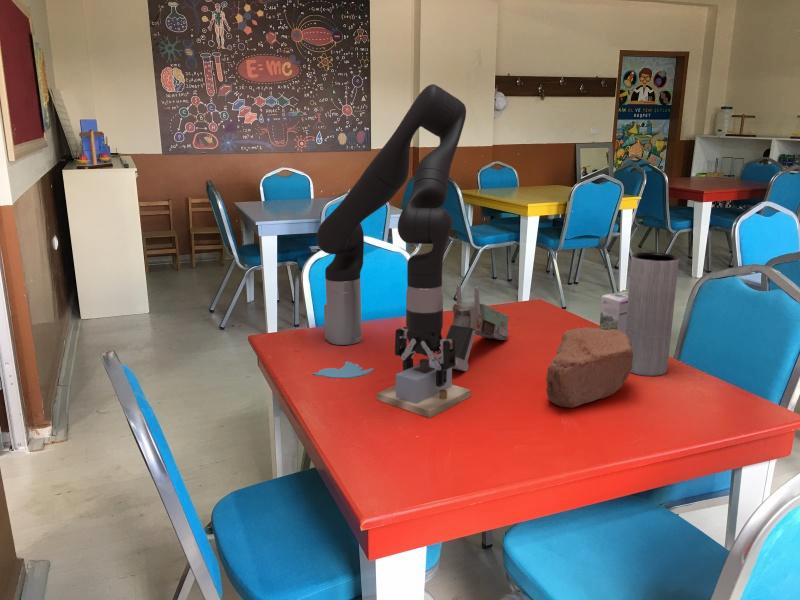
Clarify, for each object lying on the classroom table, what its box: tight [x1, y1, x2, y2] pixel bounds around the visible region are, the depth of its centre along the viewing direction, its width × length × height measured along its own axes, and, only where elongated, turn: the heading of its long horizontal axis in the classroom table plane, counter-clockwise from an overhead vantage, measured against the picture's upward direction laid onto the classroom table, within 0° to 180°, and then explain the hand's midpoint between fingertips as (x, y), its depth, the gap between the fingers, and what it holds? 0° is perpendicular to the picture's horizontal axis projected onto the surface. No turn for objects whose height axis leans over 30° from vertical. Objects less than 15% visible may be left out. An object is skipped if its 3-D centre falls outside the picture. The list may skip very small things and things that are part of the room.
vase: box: [625, 251, 680, 377], centre depth 151 cm, size 10×10×27 cm
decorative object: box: [313, 360, 374, 380], centre depth 153 cm, size 12×1×10 cm
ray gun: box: [442, 284, 509, 372], centre depth 163 cm, size 7×32×20 cm, turn 153°
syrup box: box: [598, 292, 628, 333], centre depth 165 cm, size 6×6×14 cm
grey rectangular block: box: [395, 359, 453, 404], centre depth 137 cm, size 12×6×5 cm, turn 139°
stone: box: [545, 326, 633, 409], centre depth 138 cm, size 16×26×15 cm, turn 145°
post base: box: [376, 358, 472, 419], centre depth 137 cm, size 14×14×8 cm
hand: (424, 380), depth 137 cm, fingers open, 8 cm apart
